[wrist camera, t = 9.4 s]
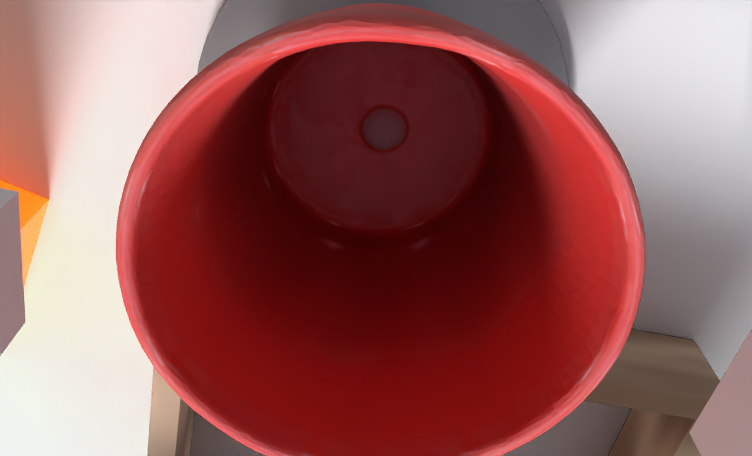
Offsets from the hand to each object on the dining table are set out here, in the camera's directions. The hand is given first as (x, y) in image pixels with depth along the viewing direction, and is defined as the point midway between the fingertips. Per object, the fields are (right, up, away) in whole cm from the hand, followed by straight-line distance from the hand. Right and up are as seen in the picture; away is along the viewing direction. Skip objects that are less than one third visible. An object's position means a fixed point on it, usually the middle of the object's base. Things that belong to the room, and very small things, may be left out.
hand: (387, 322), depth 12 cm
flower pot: (0, +5, +10) cm, 11 cm away
